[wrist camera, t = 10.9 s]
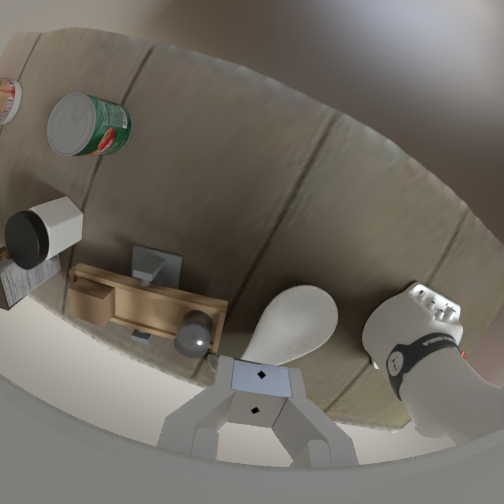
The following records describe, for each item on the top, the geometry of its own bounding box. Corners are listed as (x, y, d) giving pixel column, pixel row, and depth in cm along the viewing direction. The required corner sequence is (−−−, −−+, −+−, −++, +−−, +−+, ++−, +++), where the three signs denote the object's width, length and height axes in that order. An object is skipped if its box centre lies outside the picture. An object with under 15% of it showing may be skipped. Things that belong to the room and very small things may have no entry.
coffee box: (31, 265, 42) (-22, 301, 27) (26, 234, 40) (-32, 264, 25) (62, 270, 43) (8, 312, 27) (57, 236, 41) (-4, 270, 25)
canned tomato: (110, 164, 37) (68, 170, 26) (81, 133, 35) (37, 132, 25) (143, 124, 35) (107, 116, 25) (112, 94, 33) (72, 80, 23)
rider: (115, 286, 37) (103, 299, 33) (115, 313, 38) (104, 327, 34) (82, 276, 36) (68, 287, 32) (83, 302, 38) (70, 315, 34)
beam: (229, 294, 39) (227, 306, 36) (218, 345, 42) (215, 358, 39) (79, 256, 37) (68, 263, 34) (81, 306, 40) (72, 315, 37)
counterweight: (215, 314, 38) (210, 335, 33) (210, 339, 39) (205, 361, 34) (184, 306, 37) (175, 327, 33) (181, 332, 39) (172, 353, 34)
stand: (182, 256, 41) (171, 273, 35) (173, 330, 46) (163, 353, 40) (134, 244, 41) (116, 259, 35) (130, 318, 45) (116, 339, 39)
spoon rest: (306, 262, 42) (315, 282, 35) (345, 312, 45) (358, 337, 38) (194, 342, 47) (186, 369, 40) (238, 380, 50) (236, 407, 43)
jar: (76, 189, 38) (28, 204, 27) (91, 236, 40) (48, 262, 29) (43, 207, 39) (-3, 225, 27) (57, 250, 41) (15, 276, 30)
